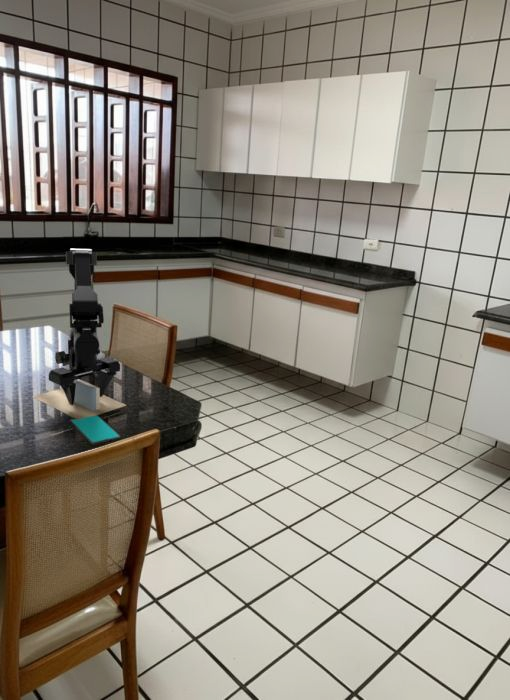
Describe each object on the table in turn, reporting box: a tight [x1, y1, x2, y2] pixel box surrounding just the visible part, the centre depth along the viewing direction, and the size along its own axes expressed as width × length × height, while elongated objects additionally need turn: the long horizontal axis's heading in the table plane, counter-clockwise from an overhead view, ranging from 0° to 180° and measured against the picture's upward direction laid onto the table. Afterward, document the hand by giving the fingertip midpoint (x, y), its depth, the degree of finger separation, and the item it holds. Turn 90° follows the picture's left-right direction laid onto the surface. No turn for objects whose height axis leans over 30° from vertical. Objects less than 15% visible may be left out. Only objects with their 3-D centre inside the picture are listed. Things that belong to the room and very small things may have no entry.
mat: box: [31, 388, 127, 420], centre depth 148 cm, size 15×22×1 cm
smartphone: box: [69, 415, 122, 446], centre depth 132 cm, size 7×1×15 cm
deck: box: [73, 378, 100, 411], centre depth 144 cm, size 2×9×6 cm, turn 52°
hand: (86, 400), depth 145 cm, fingers open, 9 cm apart
